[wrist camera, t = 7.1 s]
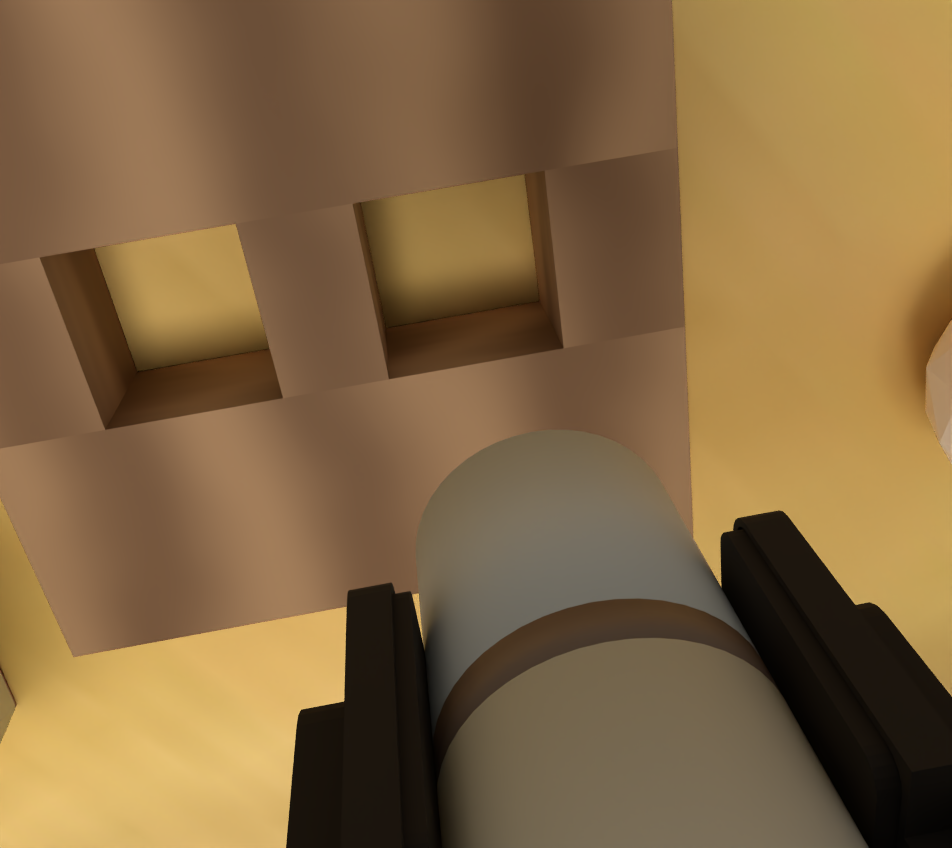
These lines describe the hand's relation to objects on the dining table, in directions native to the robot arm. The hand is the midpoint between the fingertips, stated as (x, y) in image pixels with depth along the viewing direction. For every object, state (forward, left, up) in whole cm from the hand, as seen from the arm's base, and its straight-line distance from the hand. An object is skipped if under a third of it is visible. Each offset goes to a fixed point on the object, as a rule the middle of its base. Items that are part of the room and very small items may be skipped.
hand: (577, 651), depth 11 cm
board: (+4, 0, -19) cm, 19 cm away
